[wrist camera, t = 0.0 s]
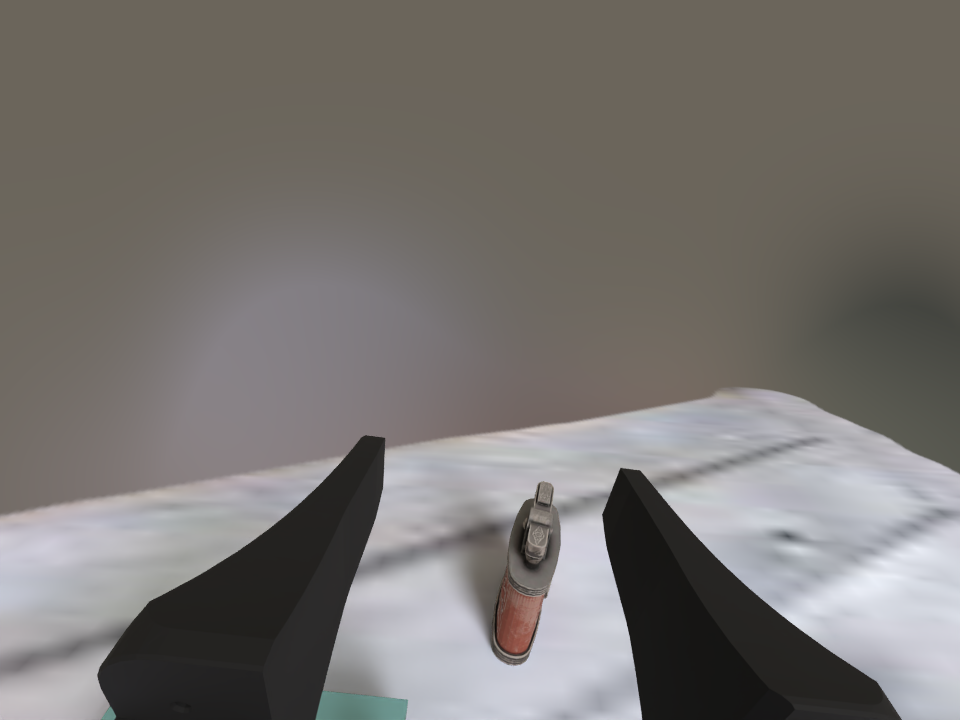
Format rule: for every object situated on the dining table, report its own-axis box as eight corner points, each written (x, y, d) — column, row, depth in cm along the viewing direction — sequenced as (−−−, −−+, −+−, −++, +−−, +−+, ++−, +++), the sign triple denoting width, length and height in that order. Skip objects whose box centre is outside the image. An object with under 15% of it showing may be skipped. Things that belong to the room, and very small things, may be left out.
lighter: (532, 672, 30) (565, 565, 26) (483, 656, 31) (507, 548, 26) (544, 574, 37) (571, 478, 33) (504, 563, 38) (526, 467, 34)
